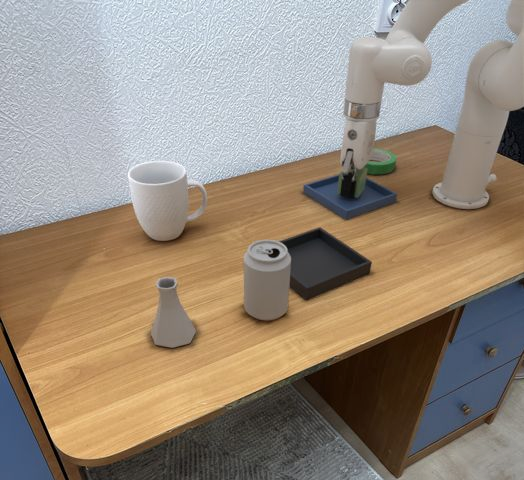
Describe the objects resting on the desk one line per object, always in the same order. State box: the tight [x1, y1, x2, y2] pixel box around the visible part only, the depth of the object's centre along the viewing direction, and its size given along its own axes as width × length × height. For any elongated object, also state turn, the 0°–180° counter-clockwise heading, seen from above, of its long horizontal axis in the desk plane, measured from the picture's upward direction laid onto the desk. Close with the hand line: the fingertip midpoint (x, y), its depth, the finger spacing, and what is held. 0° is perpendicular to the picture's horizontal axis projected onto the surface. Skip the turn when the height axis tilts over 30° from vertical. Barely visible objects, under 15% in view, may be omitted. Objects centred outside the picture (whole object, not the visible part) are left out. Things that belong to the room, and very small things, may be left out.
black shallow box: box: [278, 226, 373, 301], centre depth 96 cm, size 15×15×2 cm
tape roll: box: [351, 147, 397, 175], centre depth 130 cm, size 11×11×3 cm
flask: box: [150, 276, 197, 349], centre depth 78 cm, size 7×7×10 cm
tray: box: [302, 173, 398, 220], centre depth 117 cm, size 15×15×2 cm
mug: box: [127, 160, 209, 242], centre depth 101 cm, size 15×11×13 cm
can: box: [243, 239, 291, 321], centre depth 83 cm, size 8×8×12 cm
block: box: [337, 165, 368, 198], centre depth 115 cm, size 5×5×5 cm
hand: (351, 190), depth 117 cm, fingers closed on block, 5 cm apart
